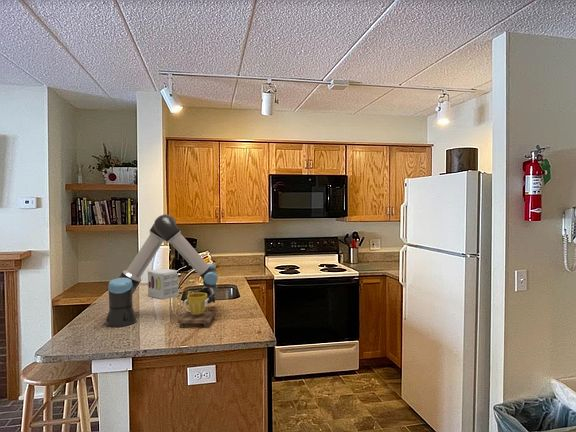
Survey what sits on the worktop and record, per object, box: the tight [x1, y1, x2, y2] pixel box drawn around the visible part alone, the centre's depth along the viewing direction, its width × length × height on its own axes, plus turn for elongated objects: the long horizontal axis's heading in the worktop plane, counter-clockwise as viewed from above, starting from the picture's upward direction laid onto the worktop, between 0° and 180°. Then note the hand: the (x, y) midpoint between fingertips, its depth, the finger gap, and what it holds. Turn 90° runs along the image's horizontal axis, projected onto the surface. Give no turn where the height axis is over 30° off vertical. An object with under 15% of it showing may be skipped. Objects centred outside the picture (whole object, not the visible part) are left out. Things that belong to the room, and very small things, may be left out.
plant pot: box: [186, 292, 207, 315], centre depth 204 cm, size 10×10×10 cm
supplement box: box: [147, 267, 179, 301], centre depth 266 cm, size 17×13×18 cm
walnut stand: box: [177, 310, 217, 328], centre depth 204 cm, size 16×16×4 cm
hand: (195, 303), depth 199 cm, fingers closed on plant pot, 10 cm apart
